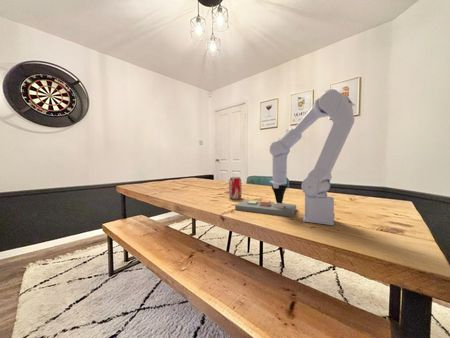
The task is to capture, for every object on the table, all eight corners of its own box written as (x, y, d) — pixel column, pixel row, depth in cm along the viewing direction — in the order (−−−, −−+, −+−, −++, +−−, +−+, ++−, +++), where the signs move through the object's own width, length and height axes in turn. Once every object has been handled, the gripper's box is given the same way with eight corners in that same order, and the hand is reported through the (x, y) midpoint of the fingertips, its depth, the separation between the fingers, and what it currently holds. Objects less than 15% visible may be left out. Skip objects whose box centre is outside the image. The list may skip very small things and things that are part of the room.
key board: (296, 209, 81) (296, 204, 81) (292, 217, 70) (292, 211, 70) (245, 203, 92) (245, 199, 92) (235, 209, 81) (235, 205, 81)
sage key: (257, 206, 85) (257, 201, 84) (255, 208, 81) (255, 203, 81) (250, 205, 86) (250, 200, 86) (247, 207, 83) (247, 202, 83)
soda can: (239, 199, 101) (239, 178, 100) (227, 199, 103) (227, 177, 103) (242, 197, 108) (242, 176, 107) (231, 196, 110) (231, 176, 109)
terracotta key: (270, 205, 82) (270, 200, 82) (268, 207, 78) (268, 202, 78) (262, 204, 83) (262, 199, 83) (260, 206, 80) (260, 201, 80)
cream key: (284, 207, 79) (284, 202, 79) (282, 209, 76) (282, 204, 76) (276, 206, 81) (276, 201, 80) (274, 208, 77) (274, 203, 77)
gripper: (273, 169, 86) (273, 198, 86) (265, 171, 73) (265, 205, 74) (289, 170, 82) (289, 199, 83) (283, 172, 69) (283, 207, 70)
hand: (279, 202), depth 78 cm, fingers closed, pressing on cream key
